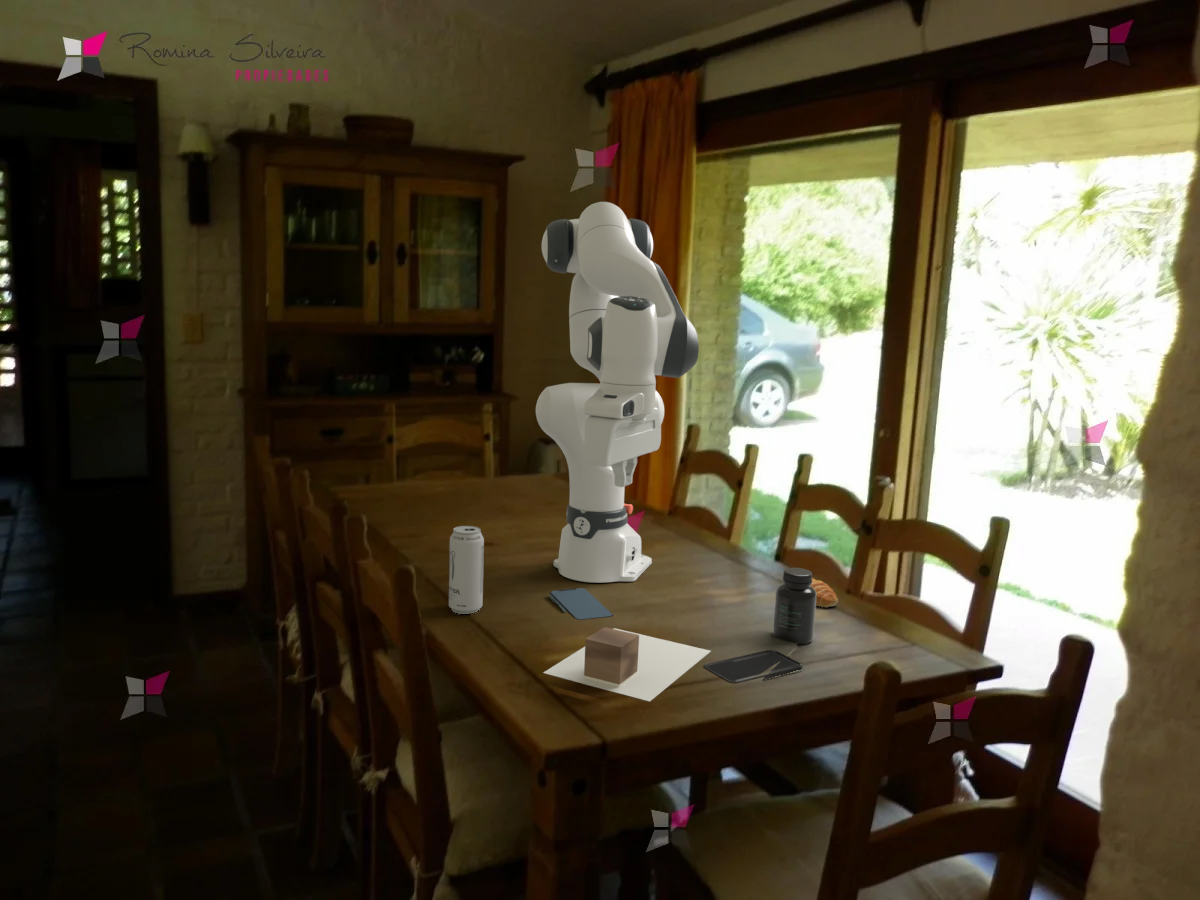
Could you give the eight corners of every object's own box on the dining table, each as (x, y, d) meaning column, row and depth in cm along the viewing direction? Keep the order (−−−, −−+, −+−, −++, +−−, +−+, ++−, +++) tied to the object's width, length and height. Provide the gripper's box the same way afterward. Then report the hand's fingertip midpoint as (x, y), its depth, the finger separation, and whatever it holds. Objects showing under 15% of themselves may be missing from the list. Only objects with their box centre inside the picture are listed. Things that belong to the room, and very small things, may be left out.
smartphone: (576, 620, 172) (547, 590, 186) (575, 629, 172) (547, 598, 186) (616, 615, 175) (585, 586, 188) (615, 624, 175) (584, 595, 189)
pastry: (846, 607, 188) (848, 588, 187) (817, 612, 185) (819, 592, 184) (816, 592, 196) (817, 574, 195) (788, 596, 193) (789, 577, 192)
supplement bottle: (784, 628, 174) (789, 563, 172) (819, 638, 170) (825, 571, 168) (765, 638, 169) (770, 571, 167) (800, 649, 165) (806, 580, 163)
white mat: (613, 631, 169) (614, 628, 169) (710, 654, 161) (711, 650, 161) (542, 676, 149) (543, 672, 149) (649, 705, 141) (649, 701, 141)
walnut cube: (585, 638, 147) (583, 677, 148) (621, 647, 144) (619, 687, 145) (604, 627, 152) (602, 664, 153) (639, 635, 149) (637, 673, 150)
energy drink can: (445, 606, 178) (446, 525, 176) (477, 603, 181) (479, 524, 178) (452, 617, 173) (454, 534, 170) (486, 614, 175) (487, 532, 172)
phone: (805, 665, 156) (732, 683, 148) (805, 672, 156) (732, 690, 148) (772, 648, 163) (700, 664, 155) (771, 655, 163) (699, 671, 155)
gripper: (638, 392, 167) (634, 472, 169) (578, 404, 149) (575, 493, 151) (672, 396, 164) (668, 477, 166) (615, 408, 146) (611, 499, 149)
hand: (623, 485), depth 159 cm, fingers closed
